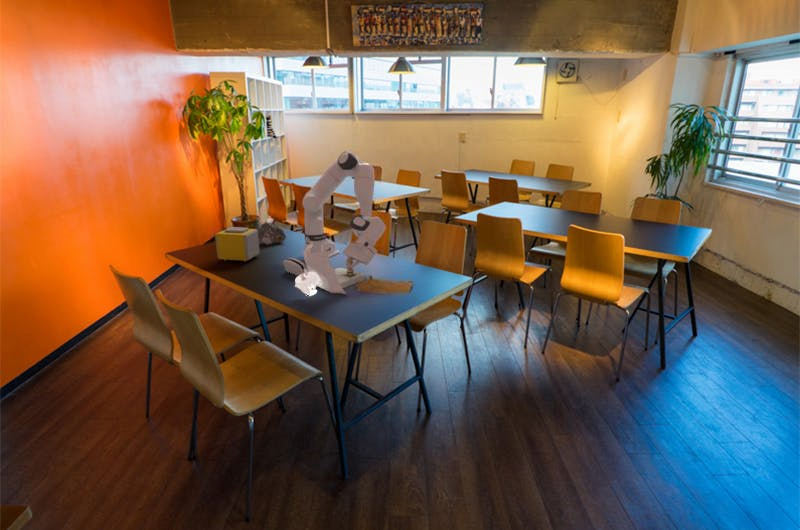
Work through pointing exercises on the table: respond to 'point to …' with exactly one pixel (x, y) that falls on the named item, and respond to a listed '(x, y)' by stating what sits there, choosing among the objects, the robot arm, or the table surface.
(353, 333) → the table surface
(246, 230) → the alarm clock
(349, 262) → the beech dowel
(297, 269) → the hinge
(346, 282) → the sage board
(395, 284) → the leather hide
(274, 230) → the rock
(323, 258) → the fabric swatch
